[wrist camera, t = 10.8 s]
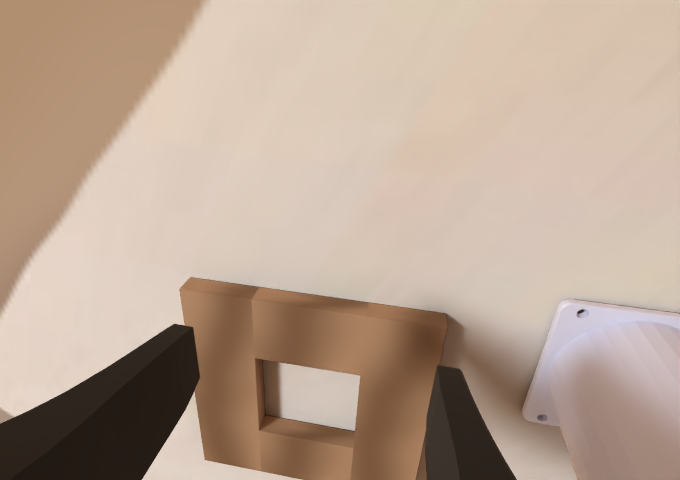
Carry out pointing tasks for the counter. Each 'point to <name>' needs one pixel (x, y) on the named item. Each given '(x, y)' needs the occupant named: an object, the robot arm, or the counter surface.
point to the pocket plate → (317, 352)
